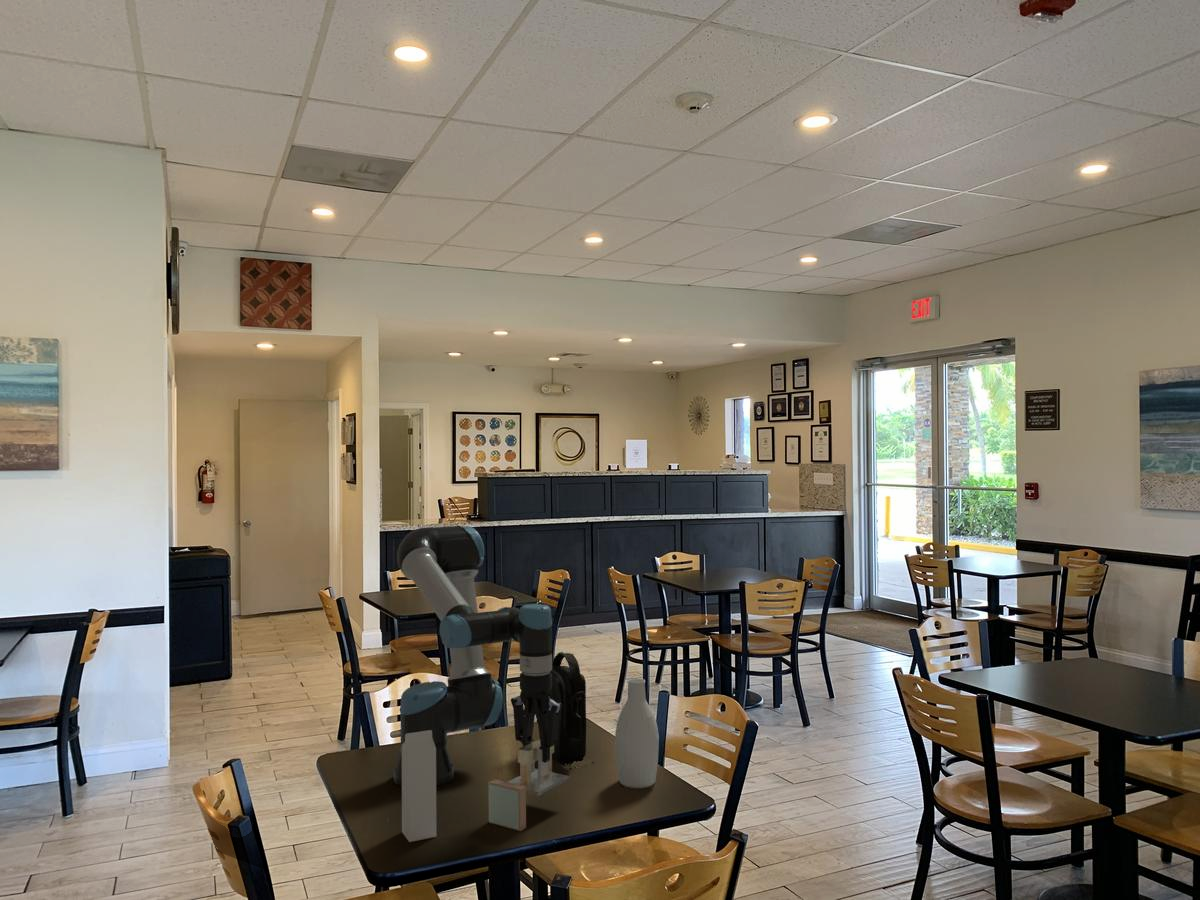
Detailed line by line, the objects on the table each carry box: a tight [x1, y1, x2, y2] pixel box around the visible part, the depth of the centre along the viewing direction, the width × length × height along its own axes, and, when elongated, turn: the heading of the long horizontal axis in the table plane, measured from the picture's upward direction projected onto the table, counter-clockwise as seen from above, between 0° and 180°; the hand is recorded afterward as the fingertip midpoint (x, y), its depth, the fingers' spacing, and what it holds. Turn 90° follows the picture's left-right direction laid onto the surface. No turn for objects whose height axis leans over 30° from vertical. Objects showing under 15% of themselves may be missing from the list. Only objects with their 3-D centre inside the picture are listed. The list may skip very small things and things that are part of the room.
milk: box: [401, 730, 437, 843], centre depth 189 cm, size 6×6×22 cm
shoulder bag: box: [536, 651, 587, 771], centre depth 241 cm, size 23×9×28 cm, turn 25°
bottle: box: [614, 678, 660, 789], centre depth 219 cm, size 11×11×25 cm
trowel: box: [507, 739, 570, 796], centre depth 202 cm, size 12×10×9 cm
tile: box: [487, 778, 527, 832], centre depth 193 cm, size 9×2×9 cm, turn 57°
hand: (536, 773), depth 202 cm, fingers closed on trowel, 3 cm apart
